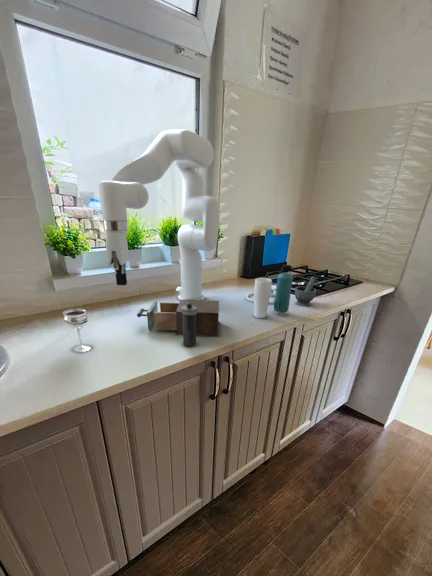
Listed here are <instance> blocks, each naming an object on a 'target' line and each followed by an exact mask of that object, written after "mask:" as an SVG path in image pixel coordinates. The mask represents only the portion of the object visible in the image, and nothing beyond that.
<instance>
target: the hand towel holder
mask: <svg viewBox="0 0 432 576" xmlns="http://www.w3.org/2000/svg"><path fill="white" fill-rule="evenodd" d="M276 285H277V284H272V287H271V293H270V297H275V294H276V293H274V291H276ZM250 296H251V297H252V296H254V292H250V293H247V294H246V296H245V299H246V300H247V301H248V302H251V303H254V299H253V298H250ZM274 302H275V301H274V300H272V301H271V300H269V303H268V305H274Z"/></svg>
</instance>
